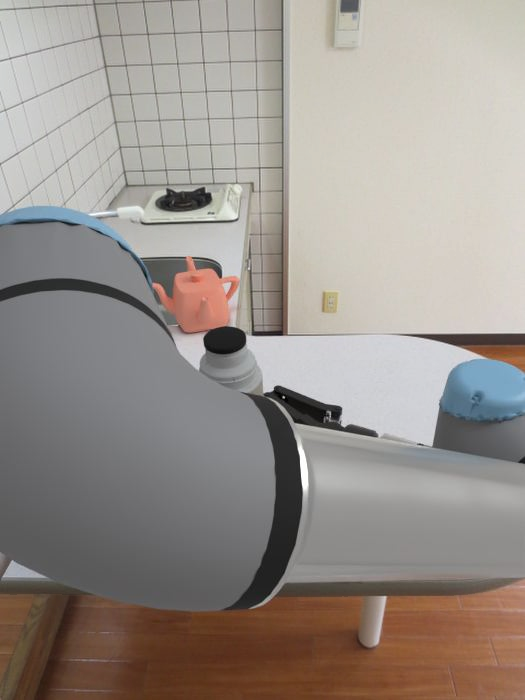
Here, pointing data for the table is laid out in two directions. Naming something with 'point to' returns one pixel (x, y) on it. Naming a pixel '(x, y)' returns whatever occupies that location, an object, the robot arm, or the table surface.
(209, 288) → the pot
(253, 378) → the thermos bottle
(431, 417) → the table surface
